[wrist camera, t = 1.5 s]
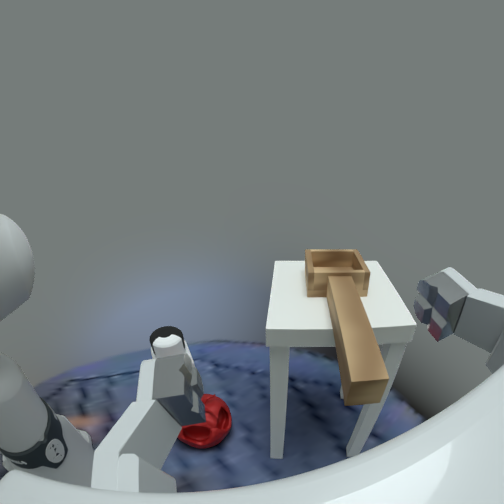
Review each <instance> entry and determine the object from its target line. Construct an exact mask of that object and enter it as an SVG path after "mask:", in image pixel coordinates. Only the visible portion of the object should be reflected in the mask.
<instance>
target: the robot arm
mask: <svg viewBox="0 0 504 504" xmlns="http://www.w3.org/2000/svg"><path fill="white" fill-rule="evenodd" d="M34 275H35V267H34V259H33V254H32V250H31V247H30V244H29V242H28V240H27V238H26V236H25V234H24V233H23V231H22V230H21V229H20V227H19V226H18V225H17V224H16V223H15V222H14V221H12V220H11V219H10V218H8V217H7V216H5V215H2V214H0V321H2V320H3V319H4V318H6V317H7V316H8V315H9V314H11V313H12V312H13V311H14V310H16V309H17V308H18V307H19V306H20V305H22V304H23V303H24V302H25V301H27V300H28V299H29V298H30V295H31V292H32V288H33V284H34ZM417 290H418V292H419V294H418V295H417V297H416V298H415V302H414V309H415V314H416V316H417V318H418V319H419V320H420V321H421V323H424V324H427V325H428V331H429V332H430V333H431V334H432V336H433V337H434V338H435V339H436V341H437V342H438V341H440V340H442V339H444V338H446V337H448V336H449V335H451V334H453V333H454V335H456V336H458V337H460V338H462V339H464V340H466V341H468V342H470V343H472V344H474V345H476V346H478V347H480V348H482V349H484V350H486V351H488V352H490V353H491V354H490V356H489V358H488V359H487V361H486V366H487V367H488V368H489V370H490V371H491V372H492V375H491V376H490V377H488V378H487V379H486V380H485V381H483V382H482V383H481V384H480V385H478V386H477V387H476V388H475V389H473V390H472V391H470V392H469V393H468V394H466V395H465V396H464V397H462V398H461V399H459V400H458V401H457V402H455V403H454V404H452V405H451V406H449V407H448V408H446V409H445V410H443V411H442V412H440V413H438V414H437V415H435V416H434V417H432V418H430V419H429V420H427V421H425V422H423V423H422V424H420V425H418V426H416V427H415V428H413V429H411V430H409V431H407V432H405V433H403V434H402V435H400V436H398V437H396V438H394V439H392V440H390V441H387V442H385V443H383V444H381V445H379V446H377V447H375V448H372V449H370V450H368V451H365V452H363V453H361V454H358V455H356V456H353V457H351V458H348V459H345V460H343V461H340V462H337V463H334V464H331V465H329V466H326V467H322V468H319V469H316V470H313V471H310V472H306V473H303V474H299V475H295V476H292V477H288V478H284V479H279V480H275V481H271V482H266V483H261V484H256V485H250V486H244V487H238V488H230V489H223V490H213V491H202V492H186V493H177V490H176V480H175V479H174V478H173V477H172V476H170V475H168V474H167V473H165V472H163V471H161V468H162V466H163V464H164V462H165V460H166V458H167V456H168V454H169V452H170V450H171V448H172V447H173V445H174V443H175V441H176V439H177V437H178V435H179V433H180V431H181V429H182V427H181V426H187V425H193V424H199V423H204V422H206V415H205V405H204V404H203V402H202V401H201V398H202V396H203V395H204V391H203V384H202V380H201V377H200V374H199V372H198V370H197V369H196V368H195V367H192V360H191V358H190V357H189V355H188V354H186V353H185V354H179V355H173V356H167V357H161V358H156V359H150V360H143V362H142V363H141V367H140V374H139V382H138V390H137V399H136V402H132V403H131V404H130V406H129V407H128V408H127V410H126V411H125V412H124V414H123V415H122V416H121V417H120V419H119V420H118V421H117V423H116V424H115V425H114V427H113V428H112V429H111V430H110V432H109V433H108V434H107V436H106V437H105V438H104V440H103V441H102V442H101V443H100V445H99V446H98V447H97V449H96V450H95V451H94V450H93V448H92V441H91V437H90V435H89V434H88V433H87V432H85V431H82V430H77V429H76V428H75V427H74V426H73V425H72V424H71V423H70V422H69V421H68V419H67V418H66V417H65V416H63V415H61V416H60V415H58V414H55V413H54V411H53V410H52V408H51V407H50V406H49V405H48V404H47V403H46V402H45V401H44V400H43V399H42V398H41V397H39V396H38V394H37V393H36V391H35V390H34V388H33V387H32V385H31V384H30V382H29V381H28V379H27V377H26V376H25V374H24V372H23V371H22V369H21V367H20V366H19V365H18V364H17V363H16V362H15V361H14V360H13V359H12V358H10V357H9V356H7V355H6V354H4V353H2V352H0V452H1V453H2V454H3V464H2V465H3V466H4V467H5V468H6V469H7V470H8V471H9V472H8V473H7V474H6V475H5V476H4V477H3V478H2V479H1V480H0V504H504V295H500V294H497V293H494V292H491V291H487V290H484V289H481V288H480V289H477V288H475V287H474V286H473V285H472V284H471V283H470V282H469V281H467V280H466V279H465V278H464V277H463V276H462V275H461V274H459V273H458V272H457V271H456V270H454V269H453V268H450V267H449V268H446V269H444V270H442V271H440V272H437V273H435V274H433V275H431V276H429V277H427V278H424V279H422V280H420V281H419V283H418V286H417Z"/></svg>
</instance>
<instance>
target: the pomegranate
mask: <svg viewBox="0 0 504 504" xmlns="http://www.w3.org/2000/svg"><path fill="white" fill-rule="evenodd" d="M201 401H202V402H203V404H204V405H205V415H206V422H204V423H199V424H193V425H187V426H181V427H182V429H181V431H180V433H179V435H178V437H177V438H178V439H179V440H181V441H182V442H184V443H186V444H188V445H190V446H192V447H195V448H200V449H201V448H202V449H204V448H209V447H212V446H215V445H217V444H218V443H220V442H221V441H222V440H223V439H224V438H225V436H226V435H227V434H228V433H229V431H230V428H231V420H232V419H231V413H230V410H229V408H228V406H227V405H226V403H225V402H224V401H223V400H222V399H220V398H219V397H216V396H215V395H210V394H204V395H203V396H202V398H201Z"/></svg>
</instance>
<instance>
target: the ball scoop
mask: <svg viewBox="0 0 504 504" xmlns="http://www.w3.org/2000/svg"><path fill="white" fill-rule="evenodd" d="M370 273H371V272H370V271H369V269H368V267H367V265H366V264H365V262H364V260H363V258H362V257H361V255H360V253H359V252H358V250H305V278H306V289H307V297H327V302H328V307H329V313H330V318H331V323H332V328H333V334H334V340H335V345H336V351H337V357H338V363H339V370H340V376H341V383H342V390H343V397H344V404H345V406H350V405H363V404H373V403H380V401H381V398H382V396H383V394H384V391H385V389H386V386H387V383H388V381H389V376H388V373H387V370H386V367H385V364H384V361H383V358H382V355H381V352H380V349H379V346H378V343H377V341H376V338H375V335H374V332H373V330H372V327H371V324H370V322H369V319H368V316H367V314H366V311H365V308H364V306H363V303H362V301H361V298H360V297H367V293H368V287H369V280H370Z"/></svg>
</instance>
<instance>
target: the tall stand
mask: <svg viewBox="0 0 504 504" xmlns="http://www.w3.org/2000/svg"><path fill="white" fill-rule="evenodd" d="M364 262H365V264H366V265H367V267H368V269H369V271H370V272H371V273H370V280H369V287H368V293H367V297H360V298H361V301H362V303H363V306H364V308H365V311H366V314H367V316H368V319H369V322H370V324H371V327H372V330H373V332H374V335H375V338H376V341H377V343H378V344H383V347H382V350H381V355H382V358H383V361H384V364H385V367H386V370H387V373H388V376H389V381H388V383H387V386H386V389H385V391H384V394H383V396H382V398H381V401H380V403H373V404H364V405H363V408H362V411H361V413H360V416H359V418H358V421H357V423H356V426H355V428H354V431H353V433H352V435H351V438H350V440H349V442H348V444H347V447H346V453H347V457H350V456H356V455H358V454H359V453H360V451H361V450H362V448H363V446H364V444H365V442H366V440H367V438H368V436H369V434H370V432H371V430H372V428H373V426H374V424H375V422H376V420H377V418H378V416H379V414H380V411H381V409H382V407H383V405H384V402H385V400H386V398H387V395H388V393H389V391H390V388H391V386H392V383H393V381H394V378H395V375H396V373H397V370H398V367H399V365H400V362H401V359H402V356H403V353H404V350H405V347H406V344H407V342H411V341H412V338H413V335H414V332H415V329H416V325H417V324H416V323H415V321H414V319H413V317H412V316H411V314H410V313H409V311H408V309H407V308H406V306H405V304H404V302H403V301H402V299H401V298H400V296H399V294H398V293H397V291H396V290H395V288H394V287H393V285H392V283H391V282H390V280H389V279H388V277H387V276H386V274H385V272H384V271H383V269H382V268H381V266H380V265H379V263H378V262H377V261H364ZM266 346H270V425H271V447H270V458H276V459H283V447H284V434H285V421H286V406H287V389H288V370H289V347H329V346H331V347H332V346H336V345H335V340H334V334H333V328H332V323H331V318H330V313H329V307H328V302H327V297H307V289H306V278H305V261H275V266H274V274H273V281H272V289H271V296H270V303H269V310H268V317H267V324H266ZM340 396H341V399H344V397H343V390H342V385H341V389H340Z"/></svg>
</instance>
